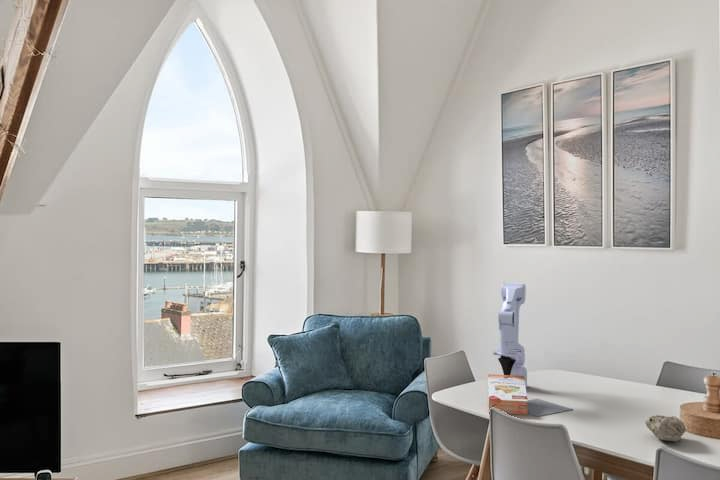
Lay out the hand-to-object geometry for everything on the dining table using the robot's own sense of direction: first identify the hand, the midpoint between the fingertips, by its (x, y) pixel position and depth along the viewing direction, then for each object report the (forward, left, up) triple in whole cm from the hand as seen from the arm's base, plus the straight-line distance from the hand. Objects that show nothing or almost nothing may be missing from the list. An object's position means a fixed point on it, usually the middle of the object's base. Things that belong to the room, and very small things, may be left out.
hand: (507, 375), depth 266 cm
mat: (0, +16, -9) cm, 19 cm away
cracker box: (+3, +2, -1) cm, 4 cm away
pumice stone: (-6, +66, -9) cm, 67 cm away
